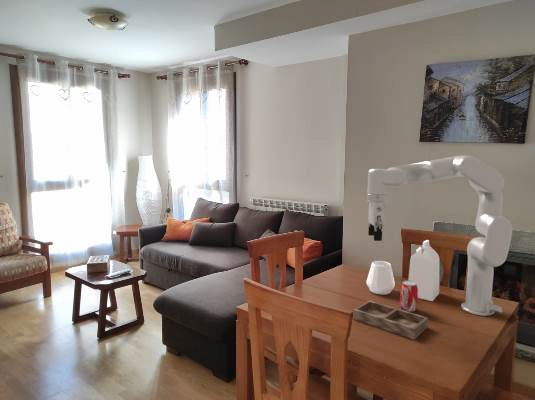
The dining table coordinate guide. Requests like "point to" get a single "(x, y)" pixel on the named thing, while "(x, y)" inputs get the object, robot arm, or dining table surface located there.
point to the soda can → (408, 296)
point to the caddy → (391, 319)
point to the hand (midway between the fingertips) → (374, 237)
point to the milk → (425, 271)
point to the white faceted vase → (380, 278)
